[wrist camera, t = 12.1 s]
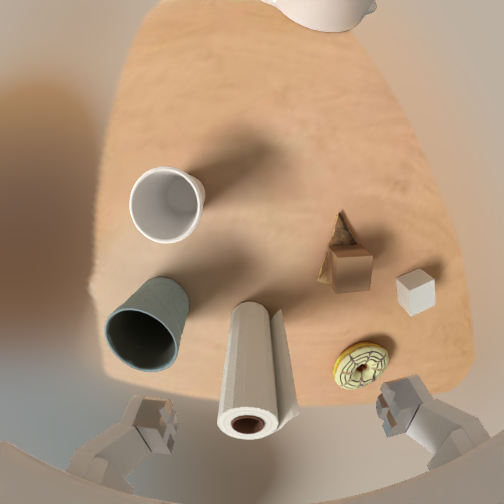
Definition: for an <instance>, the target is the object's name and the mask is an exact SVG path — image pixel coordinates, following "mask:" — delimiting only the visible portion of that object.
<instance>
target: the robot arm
mask: <svg viewBox="0 0 504 504" xmlns="http://www.w3.org/2000/svg"><path fill="white" fill-rule="evenodd" d="M261 1H263V2H265V3H267V4H270V5H272V6H275V7H277V8H278V9H279V10H280V11H282V12H283V13H284V14H285V15H286V16H287V17H289V18H290V19H291V20H293V21H295V22H296V23H298V24H300V25H303V26H305V27H308V28H310V29H314V30H318V31H323V32H342V31H347V30H350V29H352V28H354V27H355V26H357V25H358V24H359V22H360V21H361V20H362V18H363V17H364V16H365V15H366V14H369V13H372V12H374V11H375V9H376V7H377V6H376V3H375V0H261ZM380 390H381V392H382V393H381V394H380V395H379V396H378V398H377V401H376V409H377V413H378V416H379V418H381V419H382V420H384V423H383V425H382V426H383V428H384V430H385V433H386V436H387V437H391V436H395V435H398V434H402V433H405V432H406V434H408V435H409V436H410V437H412V438H413V439H414V440H415V441H417V442H418V443H420V444H421V445H422V446H424V447H425V448H427V449H428V450H429V451H431V452H432V453H433V454H435V456H434V457H433V458H432V459H431V460H430V462H429V463H428V465H427V466H428V469H429V471H428V472H425V473H423V474H421V475H418V476H416V477H413V478H411V479H408V480H405V481H403V482H400V483H397V484H394V485H391V486H388V487H385V488H381V489H378V490H374V491H371V492H367V493H363V494H359V495H355V496H351V497H346V498H342V499H337V500H332V501H326V502H321V503H313V504H504V430H502V431H501V432H499V433H498V434H496V435H495V436H493V437H492V438H490V436H489V434H488V433H487V431H486V430H485V428H484V427H483V425H482V423H481V422H480V420H479V419H478V418H476V417H475V416H472V415H470V414H468V413H466V412H463V411H461V410H459V409H457V408H455V407H453V406H451V405H448V404H447V403H445V402H442V401H440V400H438V399H435V400H434V399H433V397H432V396H431V394H430V393H429V391H428V389H427V388H426V386H425V385H424V383H423V382H422V380H421V379H420V377H419V376H418V375H417V374H415V375H411V376H408V377H403V378H400V379H396V380H392V381H388V382H384V383H383V384H382V385H381V388H380ZM172 406H173V404H172V402H171V400H170V399H163V398H153V397H147V396H138V395H134V396H133V397H132V398H131V400H130V402H129V404H128V406H127V408H126V411H125V413H124V415H123V417H122V420H121V422H120V424H118V423H116V424H115V425H113V426H112V427H110V428H109V429H107V430H106V431H104V432H102V433H101V434H99V435H98V436H96V437H95V438H93V439H92V440H90V441H88V442H87V443H85V444H84V445H82V446H80V447H79V448H77V449H76V451H75V453H74V455H73V457H72V459H71V461H70V463H69V465H68V467H67V469H66V471H63V470H61V469H58V468H56V467H54V466H52V465H50V464H48V463H46V462H44V461H41V460H40V459H38V458H36V457H34V456H32V455H30V454H28V453H26V452H25V451H23V450H21V449H19V448H18V447H16V446H15V445H13V444H11V443H9V442H7V441H2V442H0V504H179V503H172V502H166V501H161V500H156V499H151V498H146V497H141V496H137V495H133V494H132V492H133V487H132V486H131V485H130V484H129V483H128V482H127V481H126V480H125V479H124V478H125V477H126V476H128V474H130V473H131V472H132V471H133V470H134V469H135V468H136V467H137V466H138V465H139V464H141V463H142V462H143V460H145V459H146V458H147V457H148V456H149V455H150V454H151V453H152V452H157V453H166V454H172V450H173V446H174V442H175V441H174V439H173V437H172V436H173V435H175V434H176V433H177V429H178V417H177V414H176V412H175V411H174V410H172Z"/></svg>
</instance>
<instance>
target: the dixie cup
mask: <svg viewBox="0 0 504 504" xmlns="http://www.w3.org/2000/svg"><path fill="white" fill-rule="evenodd" d="M204 201H205V189H204V186H203V184H202V183H201V182H200V181H199V180H198V179H197V178H195V177H193V176H191V175H188V174H187V173H186V172H184V171H182V170H180V169H178V168H175V167H170V166H161V167H156V168H153V169H151V170H149V171H147V172H146V173H144V174H143V175H142V176H141V177H140V178H139V179H138V180H137V182H136V183H135V185H134V187H133V189H132V192H131V196H130V213H131V216H132V219H133V221H134V223H135V225H136V227H137V228H138V229H139V231H140V232H141V233H142V234H143V235H145V236H146V237H148V238H149V239H151V240H153V241H156V242H160V243H174V242H178V241H180V240H182V239H184V238H186V237H187V236H189V235H190V234H191V233H192V232H193V231H194V230H195V228H196V227H197V225H198V223H199V221H200V218H201V215H202V209H203V204H204Z"/></svg>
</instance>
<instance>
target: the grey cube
mask: <svg viewBox="0 0 504 504" xmlns="http://www.w3.org/2000/svg"><path fill="white" fill-rule="evenodd" d="M396 284H397V293H398V303H399V304H400V305H401V306H402V307H403V308H404V309H405V310H406V312H407V313H408V314H409V315H410V316H413V315H415V314H418V313H420V312H422V311H424V310H426V309H428V308H430V307H432V306H434V305H435V279H434V278H432V277H431V276H430V275H428V274H427V273H426V272H424V271H423V270H421V269H420V268H419V269H416V270H414V271H412V272H409V273H407V274H404V275H402V276H400V277H397V278H396Z"/></svg>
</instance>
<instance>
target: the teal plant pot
mask: <svg viewBox="0 0 504 504" xmlns="http://www.w3.org/2000/svg"><path fill="white" fill-rule="evenodd" d="M188 310H189V300H188V297H187V294H186V292H185V291H184V289H183V288H182V287H181V286H180V285H179V284H178V283H176V282H175V281H173V280H171V279H168V278H164V277H156V278H152V279H150V280H148V281H147V282H145V283H144V284H143V285H142V286H141V287H140V288H139V289H138V290H137V291H136V292H135V293H134V294H133V295H132V296H131V297H130V298H129V299H128V300H127V301H126V302H125V303H124V304H122V305H121V306H119V307H118V308H117V309H116V310H115V311H114V312H113V313H112V314H111V315H110V316H109V317H108V319H107V321H106V324H105V337H106V341H107V343H108V345H109V347H110V349H111V350H112V352H113V353H114V354H115V355H116V356H117V357H118V358H119V359H120V360H121V361H122V362H124V363H125V364H127V365H128V366H130V367H132V368H134V369H137V370H140V371H144V372H158V371H162V370H165V369H167V368H169V367H170V366H171V365H172V364H173V363H174V361H175V360H176V358H177V355H178V350H179V345H180V339H181V335H182V333H183V329H184V325H185V321H186V318H187V314H188Z"/></svg>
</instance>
